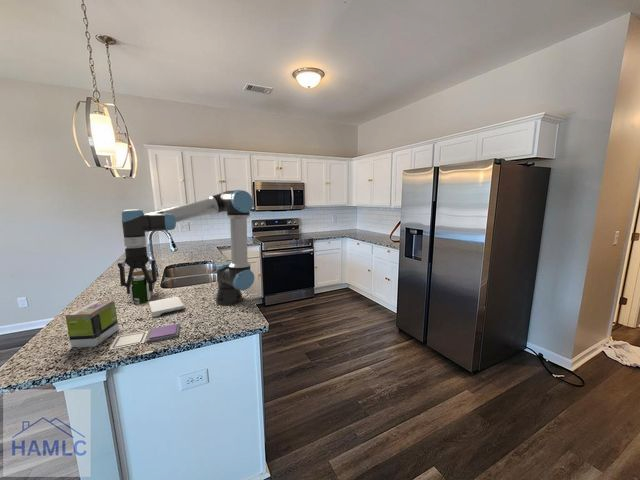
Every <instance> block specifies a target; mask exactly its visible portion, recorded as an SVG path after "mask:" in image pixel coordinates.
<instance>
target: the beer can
mask: <svg viewBox="0 0 640 480" xmlns="http://www.w3.org/2000/svg"><path fill="white" fill-rule="evenodd" d="M146 285H147V280H146V278H145V275H138V276H134V277H132V290H133V299H134V301H133V305H135V307H136V306H137V307H139V306H140V307H141V306H144V305H147V304H149V302H150V301H149V300H148V297H147V286H146Z"/></svg>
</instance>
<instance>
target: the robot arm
mask: <svg viewBox="0 0 640 480" xmlns="http://www.w3.org/2000/svg"><path fill="white" fill-rule="evenodd" d="M253 208H254V200H253V196H252V195H251V194H250V193H249V192H248V191H246V190H244V189H237V190H227V191H226V190H225V191H223V192H220V193H217V194H214V195H210V196H209V198H206V199H202V200H199V201H193V202H190V203H186V204H182V205H177V206H174V207H170V208H169V207H168V208H164V209H162V210H157V211H154V212H146V213H144V210H142V209H124V210H122V211H121V224H122V225H121V226H122V230H123V231H122V232H123V241H124V247H125V248H124V252H125V259H124V261H119V262H118V263H117V267H118V268H119V281H120V286H121V287H125V288H126V293H127V295H129V296H130V298H129V299H130V302H131V303H134V299H133V290H132V285H131V281H132V276H133V272H135V269H136V270H137V269H140V270H142V271H143V273H144V275H145V278H146V280H147V282H148V284H147V285H146V286H147V297H148V300H151V298H152V296H151V295H150V291H152V290H153V286H152V283H155V284H156V282H157V280H158V278H157V271H156V262H157V260H156V258H153V259H152V258H149V255H148V249H147V248H148V247H147V240H146V239H147V238H146V232H147V233H148V232H163V231H166V232H168V231H173V230H175V228H176V226H177V223H180V222H183V221H187V220H190V219H194V218H197V217H200V216H204V215H207V214H211V213H215V214H218V213H225V212H226V213H227V214H226V215H227V217H228V218H229V220H230V224H229V225H230V261H231V262H223V263H220V264H218V265H217V266H216V276H217V277H216V278H217V293H216V296H215V303H216V304H217V305H219V306H230V305H231V306H232V305H236V304H238V303H240V302H242V300H243V299H244V298H243V293H242V291H246V290H249V288H251V287H252V285H253V284H254V281H255V274H254V272H253V271H252V270H251V264H250V262H248V261H249V260H248V218H249V217H250V211H252V209H253ZM147 263H149V265H150V270H152V278H153V280H151V277H150V275H149V273H148V271H147V270H148V268H147V266H146V265H147ZM126 265H127V266H128V267H129V270H128V274H129V275H128V276H127V279H126V270H125V266H126ZM153 291H154V290H153Z"/></svg>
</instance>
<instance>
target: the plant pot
mask: <svg viewBox="0 0 640 480" xmlns="http://www.w3.org/2000/svg"><path fill="white" fill-rule="evenodd" d="M147 271H148V273H149V275H150V277H151V280H153V278H152V270H151V269H147ZM128 275H129V273H127V275H126V276H127V277H128ZM138 275H144V273H143V271H142V269H140V270H136V271H135V270H134V272H133V276H132V277H134V276H138ZM147 284H148V282H147ZM155 284H156V282H155V283H152V286H153V290H152V291H150V295H151V297H153V293H154V290H155V286H156V285H155ZM131 285H132V281H131Z"/></svg>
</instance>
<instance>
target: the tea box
mask: <svg viewBox="0 0 640 480" xmlns="http://www.w3.org/2000/svg"><path fill="white" fill-rule="evenodd" d="M64 317H65V320H66V327H67V332H68V336H69V342H70V343H69V344H70V347H71V348H72V347H77V348H93V347H94V348H95V347H97V346H99V344H100V343H102V342H104V341H105V340H107V339H108V338H109V337H110V336H112V335H114V333H116V332H118V331H119V330H120V327H119V322H118V315H117V309H116V302H115V300H102V301H101V300H99V301H91V302H88V303H87V304H85V305H83V306H81V307H80V308H76V309H75V310H73V311H72V312H70V313H67V314H65V316H64Z"/></svg>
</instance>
